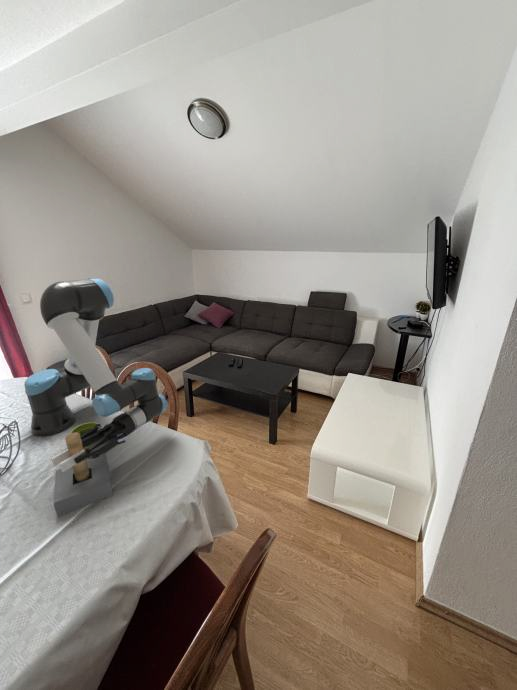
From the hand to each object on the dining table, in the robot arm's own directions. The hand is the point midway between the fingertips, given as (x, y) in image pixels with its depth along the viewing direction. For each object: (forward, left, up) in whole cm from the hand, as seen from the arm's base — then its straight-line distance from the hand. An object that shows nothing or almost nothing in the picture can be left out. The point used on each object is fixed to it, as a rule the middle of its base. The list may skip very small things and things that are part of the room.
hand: (57, 465), depth 79 cm
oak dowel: (-3, +5, -9) cm, 11 cm away
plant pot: (-23, +7, -14) cm, 28 cm away
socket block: (-3, +5, -14) cm, 15 cm away
